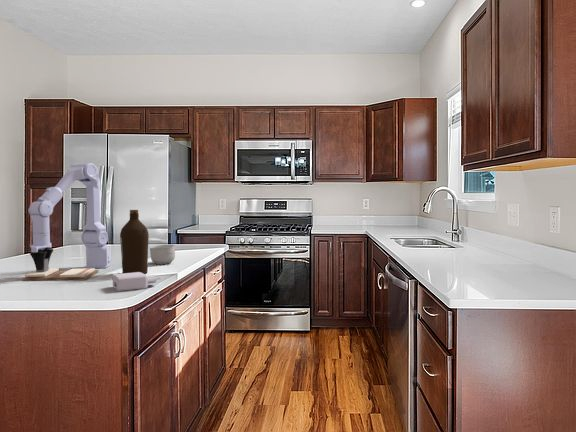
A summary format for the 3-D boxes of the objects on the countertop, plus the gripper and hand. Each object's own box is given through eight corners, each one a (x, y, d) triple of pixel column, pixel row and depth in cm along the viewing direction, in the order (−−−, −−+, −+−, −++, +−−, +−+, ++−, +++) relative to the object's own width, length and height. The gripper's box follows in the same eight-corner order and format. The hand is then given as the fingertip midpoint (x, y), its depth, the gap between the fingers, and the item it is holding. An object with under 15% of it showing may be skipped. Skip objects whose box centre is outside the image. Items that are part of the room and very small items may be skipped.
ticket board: (98, 272, 196) (98, 269, 196) (85, 279, 180) (85, 277, 180) (40, 273, 194) (40, 270, 194) (22, 280, 178) (22, 278, 178)
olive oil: (151, 271, 199) (151, 209, 197) (145, 275, 188) (144, 210, 187) (125, 271, 198) (124, 209, 197) (117, 276, 188) (115, 210, 186)
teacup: (171, 265, 214) (171, 247, 213) (146, 265, 214) (146, 247, 214) (179, 260, 228) (179, 243, 227) (155, 260, 228) (155, 243, 227)
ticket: (94, 270, 195) (94, 268, 195) (83, 276, 181) (83, 274, 181) (71, 270, 194) (71, 268, 194) (58, 277, 180) (58, 274, 180)
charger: (164, 287, 167) (118, 292, 159) (156, 283, 175) (112, 287, 167) (164, 273, 167) (118, 277, 159) (156, 269, 175) (112, 273, 167)
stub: (58, 270, 193) (58, 256, 193) (44, 276, 179) (44, 262, 179) (40, 270, 193) (39, 256, 192) (24, 276, 179) (24, 262, 178)
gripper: (37, 231, 192) (38, 266, 193) (21, 235, 177) (22, 272, 178) (56, 231, 193) (57, 265, 193) (42, 234, 178) (43, 272, 179)
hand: (42, 269), depth 186 cm, fingers closed on stub, 4 cm apart
